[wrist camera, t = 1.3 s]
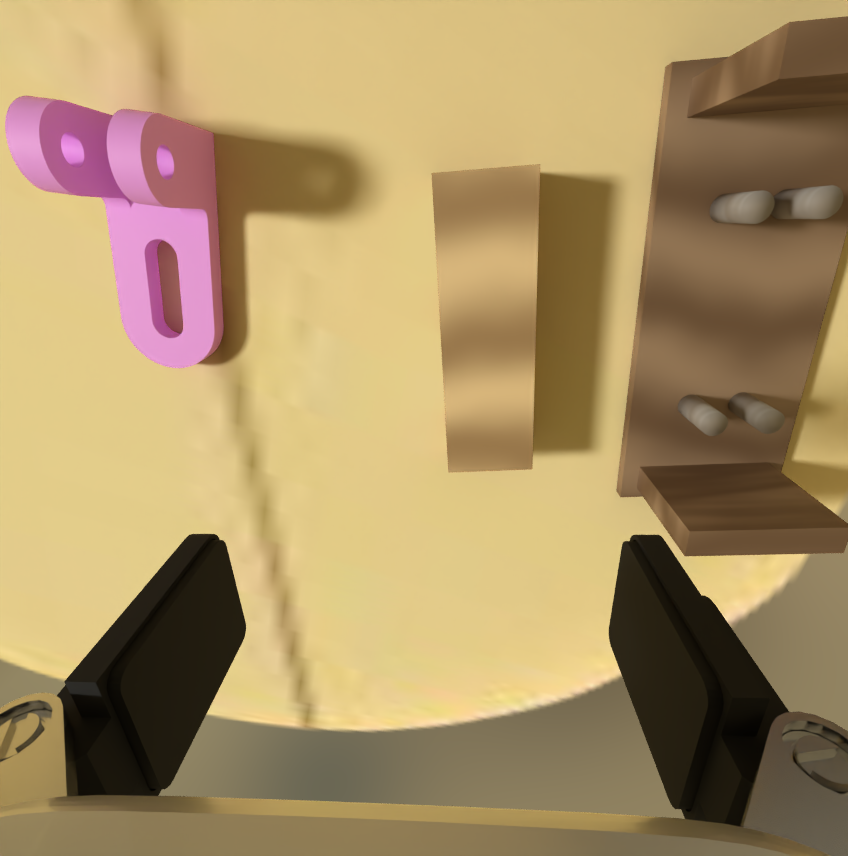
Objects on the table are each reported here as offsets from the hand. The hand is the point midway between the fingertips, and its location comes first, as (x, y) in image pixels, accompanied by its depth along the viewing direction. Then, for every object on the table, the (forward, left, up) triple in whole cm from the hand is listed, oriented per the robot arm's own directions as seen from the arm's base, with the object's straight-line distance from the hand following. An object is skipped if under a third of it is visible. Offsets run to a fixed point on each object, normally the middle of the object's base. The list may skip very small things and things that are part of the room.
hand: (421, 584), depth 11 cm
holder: (-2, +17, -20) cm, 26 cm away
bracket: (-7, -15, -20) cm, 26 cm away
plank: (-2, +3, -20) cm, 21 cm away
